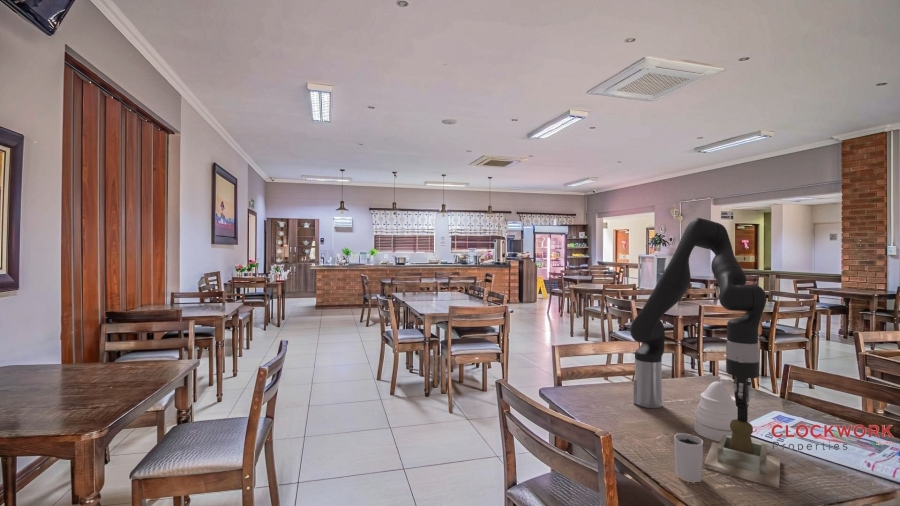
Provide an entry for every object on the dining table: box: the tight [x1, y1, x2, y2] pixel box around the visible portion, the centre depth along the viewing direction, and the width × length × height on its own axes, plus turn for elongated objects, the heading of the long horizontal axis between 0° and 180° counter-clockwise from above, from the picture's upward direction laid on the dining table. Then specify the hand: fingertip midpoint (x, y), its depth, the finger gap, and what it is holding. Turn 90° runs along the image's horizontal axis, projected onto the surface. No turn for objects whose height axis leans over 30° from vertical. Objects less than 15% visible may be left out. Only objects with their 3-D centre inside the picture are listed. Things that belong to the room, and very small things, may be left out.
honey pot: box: [694, 376, 738, 442], centre depth 134 cm, size 13×13×18 cm
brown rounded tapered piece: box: [730, 419, 754, 455], centre depth 115 cm, size 6×6×11 cm
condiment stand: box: [703, 434, 781, 489], centre depth 115 cm, size 16×16×5 cm
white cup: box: [673, 432, 704, 482], centre depth 109 cm, size 7×7×10 cm
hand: (742, 420), depth 115 cm, fingers closed
